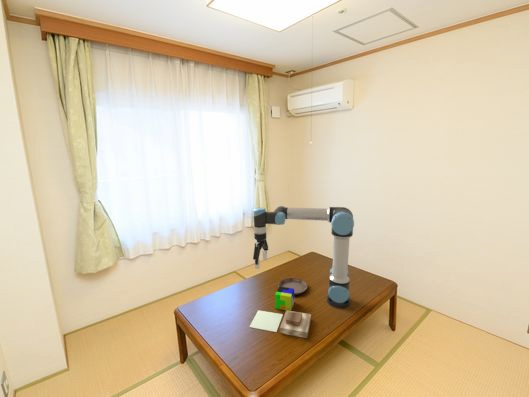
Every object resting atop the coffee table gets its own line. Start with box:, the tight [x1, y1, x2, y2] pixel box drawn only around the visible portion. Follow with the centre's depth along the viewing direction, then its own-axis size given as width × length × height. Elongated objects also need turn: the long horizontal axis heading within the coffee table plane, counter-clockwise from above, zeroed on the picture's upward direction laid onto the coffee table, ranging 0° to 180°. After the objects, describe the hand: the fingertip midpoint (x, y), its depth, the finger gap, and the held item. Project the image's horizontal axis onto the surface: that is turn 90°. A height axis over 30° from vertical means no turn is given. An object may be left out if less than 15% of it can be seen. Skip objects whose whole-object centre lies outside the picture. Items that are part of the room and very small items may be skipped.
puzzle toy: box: [274, 286, 295, 311], centre depth 171 cm, size 10×10×10 cm
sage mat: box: [249, 309, 284, 333], centre depth 157 cm, size 16×16×1 cm
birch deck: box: [279, 310, 312, 339], centre depth 152 cm, size 15×16×4 cm
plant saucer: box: [278, 277, 308, 296], centre depth 191 cm, size 21×21×3 cm
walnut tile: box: [286, 311, 303, 326], centre depth 152 cm, size 8×8×2 cm
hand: (261, 264), depth 170 cm, fingers open, 13 cm apart
